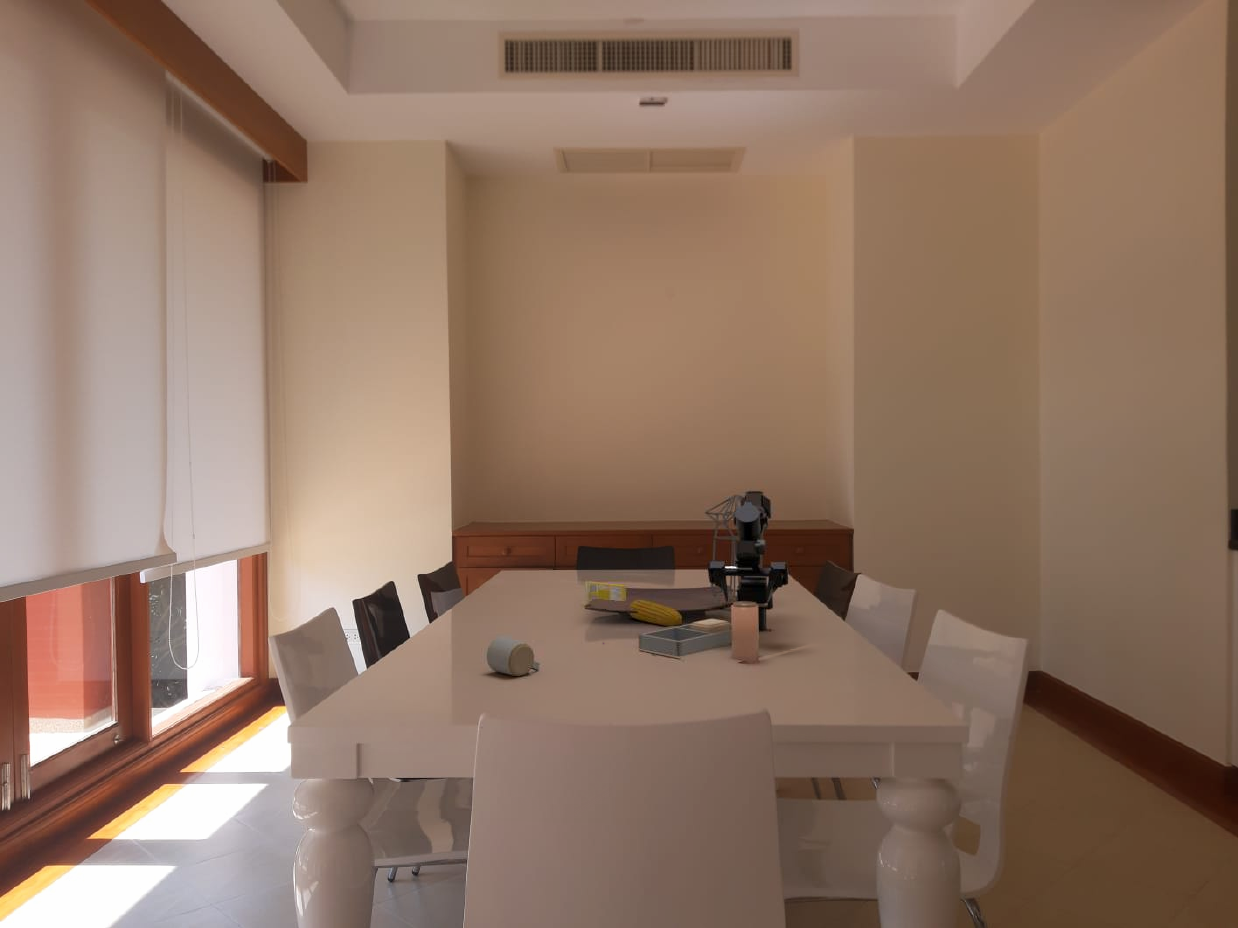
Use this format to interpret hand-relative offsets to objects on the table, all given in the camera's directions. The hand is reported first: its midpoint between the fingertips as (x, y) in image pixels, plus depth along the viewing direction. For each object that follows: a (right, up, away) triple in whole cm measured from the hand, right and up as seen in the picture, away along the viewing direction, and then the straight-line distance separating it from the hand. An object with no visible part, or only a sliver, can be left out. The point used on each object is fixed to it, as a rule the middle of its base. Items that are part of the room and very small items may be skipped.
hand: (746, 601), depth 200 cm
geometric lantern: (+7, -13, +65) cm, 67 cm away
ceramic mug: (-52, -13, -14) cm, 55 cm away
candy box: (-34, -13, +65) cm, 75 cm away
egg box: (-7, -12, +14) cm, 19 cm away
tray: (-11, -12, +9) cm, 19 cm away
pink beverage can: (-1, -12, -6) cm, 14 cm away
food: (-19, -13, +42) cm, 48 cm away
